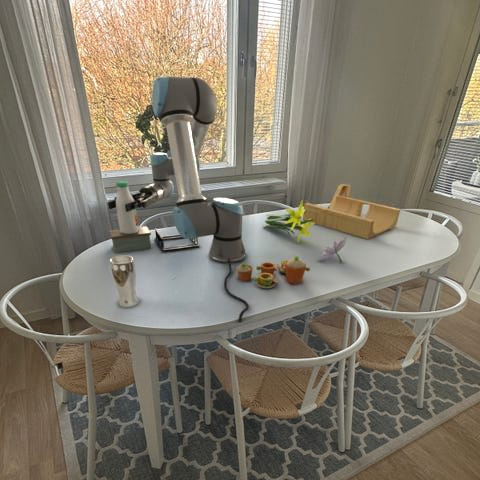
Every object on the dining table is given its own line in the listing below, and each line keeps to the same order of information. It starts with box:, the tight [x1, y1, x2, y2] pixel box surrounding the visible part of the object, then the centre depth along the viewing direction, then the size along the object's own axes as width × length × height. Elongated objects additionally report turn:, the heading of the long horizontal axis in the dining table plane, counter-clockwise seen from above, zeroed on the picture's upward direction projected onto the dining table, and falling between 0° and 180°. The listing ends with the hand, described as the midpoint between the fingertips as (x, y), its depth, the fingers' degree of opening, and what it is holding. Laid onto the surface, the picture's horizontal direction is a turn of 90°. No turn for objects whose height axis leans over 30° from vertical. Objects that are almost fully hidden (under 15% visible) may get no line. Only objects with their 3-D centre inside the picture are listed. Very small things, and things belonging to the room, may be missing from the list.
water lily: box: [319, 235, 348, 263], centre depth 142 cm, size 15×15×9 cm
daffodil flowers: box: [262, 200, 316, 243], centre depth 163 cm, size 17×15×35 cm
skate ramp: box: [302, 180, 402, 240], centre depth 184 cm, size 40×35×16 cm
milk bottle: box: [115, 180, 140, 234], centre depth 141 cm, size 8×8×20 cm
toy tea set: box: [236, 255, 311, 289], centre depth 125 cm, size 26×16×10 cm, turn 112°
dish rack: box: [154, 227, 200, 253], centre depth 154 cm, size 17×16×6 cm
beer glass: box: [109, 254, 140, 308], centre depth 107 cm, size 7×7×15 cm
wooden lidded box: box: [108, 226, 152, 254], centre depth 148 cm, size 9×16×7 cm, turn 114°
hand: (117, 207), depth 136 cm, fingers closed on milk bottle, 7 cm apart
